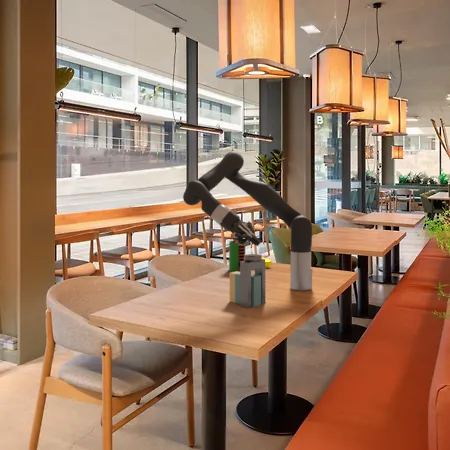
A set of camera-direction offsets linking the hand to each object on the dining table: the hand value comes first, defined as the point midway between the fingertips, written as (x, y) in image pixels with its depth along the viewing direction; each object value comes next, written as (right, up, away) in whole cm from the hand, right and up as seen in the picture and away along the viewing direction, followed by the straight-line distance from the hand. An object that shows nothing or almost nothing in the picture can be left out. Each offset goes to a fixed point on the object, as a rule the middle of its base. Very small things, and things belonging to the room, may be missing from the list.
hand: (259, 243), depth 198 cm
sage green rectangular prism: (-5, -24, +7) cm, 26 cm away
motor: (-7, -17, +77) cm, 79 cm away
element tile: (+3, -17, +87) cm, 89 cm away
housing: (-2, -25, +5) cm, 25 cm away
